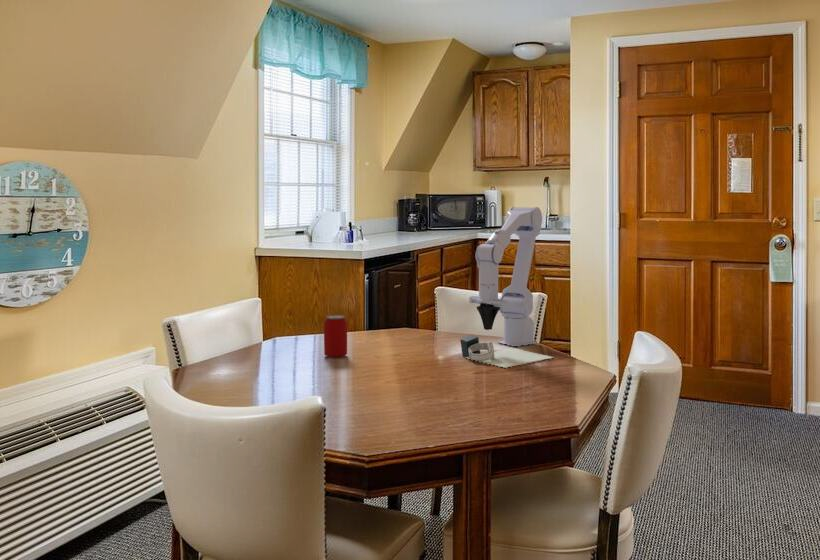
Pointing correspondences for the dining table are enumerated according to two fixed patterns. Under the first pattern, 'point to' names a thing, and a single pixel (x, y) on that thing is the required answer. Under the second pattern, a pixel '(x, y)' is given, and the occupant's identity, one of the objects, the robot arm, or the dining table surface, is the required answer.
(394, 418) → the dining table surface
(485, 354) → the watch
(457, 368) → the dining table surface
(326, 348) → the beverage can
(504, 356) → the mat
